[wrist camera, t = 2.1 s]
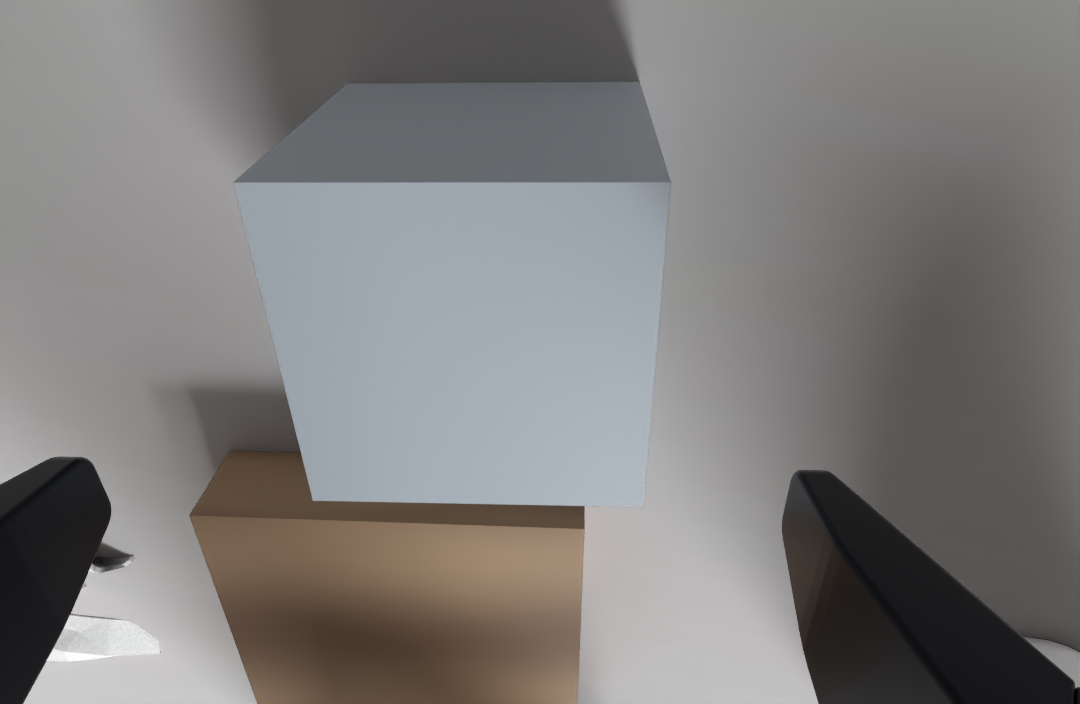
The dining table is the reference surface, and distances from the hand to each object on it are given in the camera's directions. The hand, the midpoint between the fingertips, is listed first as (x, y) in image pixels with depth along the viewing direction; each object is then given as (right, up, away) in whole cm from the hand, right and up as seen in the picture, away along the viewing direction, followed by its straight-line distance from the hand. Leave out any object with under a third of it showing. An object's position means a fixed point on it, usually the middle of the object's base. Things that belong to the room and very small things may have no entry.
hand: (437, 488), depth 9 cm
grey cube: (0, +5, +7) cm, 9 cm away
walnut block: (-2, -5, +14) cm, 15 cm away
